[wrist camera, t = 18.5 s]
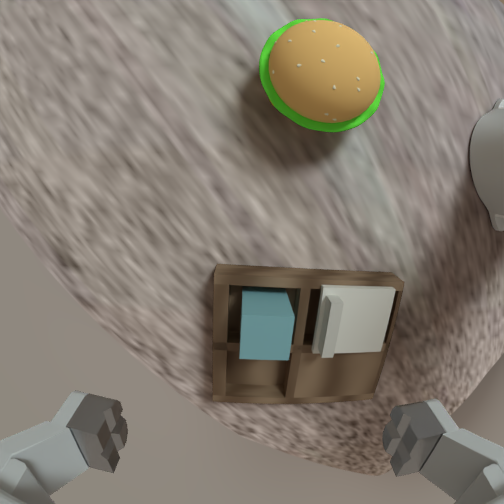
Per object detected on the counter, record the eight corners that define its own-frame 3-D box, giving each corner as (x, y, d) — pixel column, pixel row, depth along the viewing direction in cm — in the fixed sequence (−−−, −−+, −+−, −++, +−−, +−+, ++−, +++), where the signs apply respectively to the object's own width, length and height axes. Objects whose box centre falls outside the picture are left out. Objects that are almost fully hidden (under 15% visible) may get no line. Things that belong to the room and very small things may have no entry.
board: (391, 272, 34) (404, 282, 31) (364, 383, 38) (372, 399, 35) (217, 263, 33) (214, 274, 30) (214, 383, 37) (212, 401, 34)
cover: (392, 286, 31) (404, 296, 28) (378, 348, 32) (387, 360, 30) (321, 284, 30) (328, 295, 28) (311, 349, 32) (316, 363, 29)
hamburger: (244, 119, 30) (244, 100, 21) (272, 23, 27) (280, -17, 19) (354, 152, 31) (389, 146, 22) (375, 57, 28) (409, 30, 20)
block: (285, 288, 33) (294, 316, 26) (281, 325, 34) (288, 360, 27) (242, 286, 33) (242, 314, 26) (240, 324, 34) (239, 358, 27)
